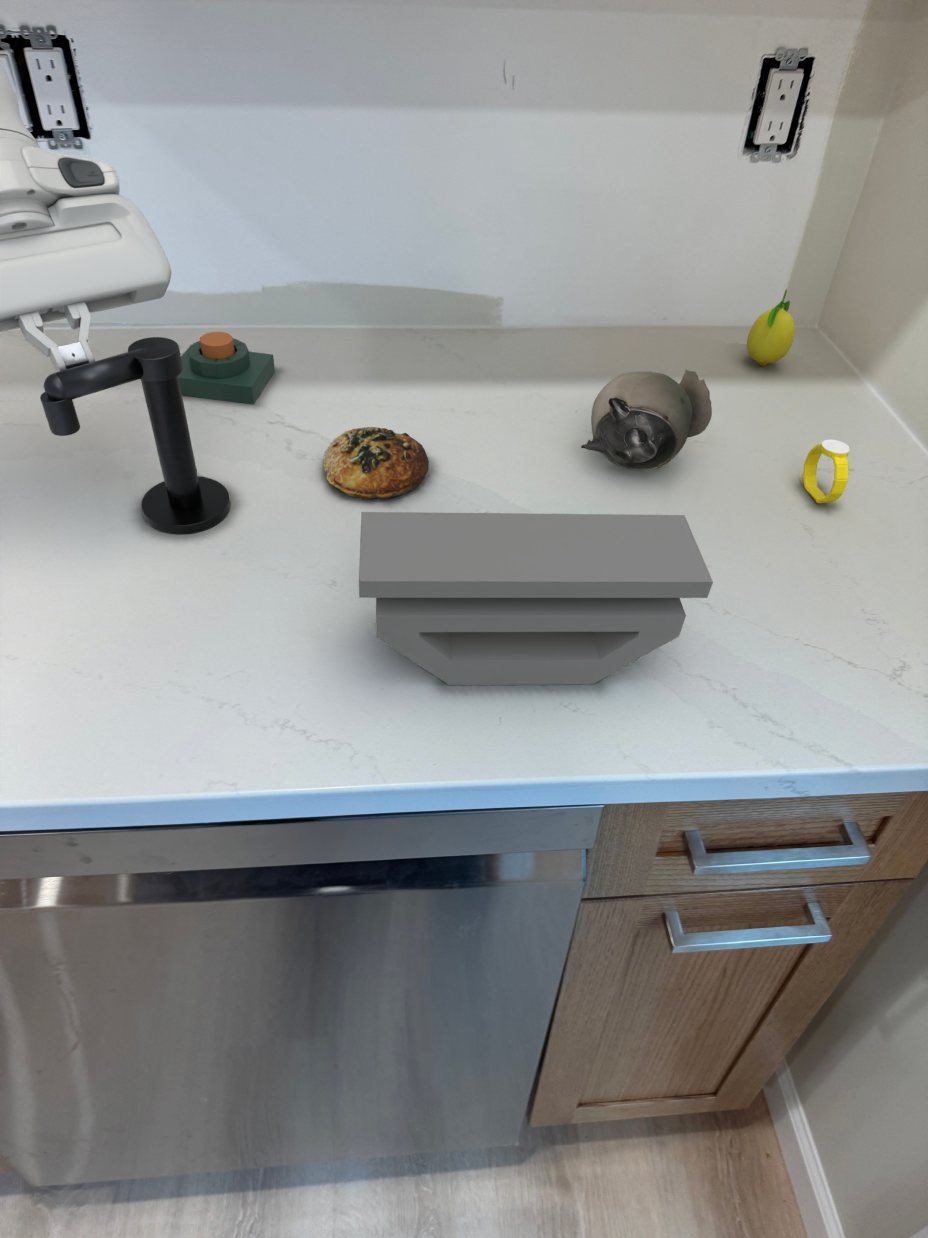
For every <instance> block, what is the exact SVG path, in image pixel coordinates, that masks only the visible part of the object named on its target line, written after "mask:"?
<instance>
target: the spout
mask: <svg viewBox="0 0 928 1238" xmlns="http://www.w3.org/2000/svg"><path fill="white" fill-rule="evenodd" d="M181 356H182V354H181V349H180V346H179V344H178V342H177V341H175V340H173V339H171V338H168V337H162V336H153V337H144V338H141V339H138V340H136V341H134V342H132V343H130V344H129V346H128V348H127V351H126V352H123V353H119V354H116V355H112V356H108V357H105V358H102V359H98V360H95V362H91V363H88V364H84V365H81V366H77V367H73V368H70V369H66V370H63V371H59V372H56V371H55V372H53V373H50V374H49V375H48V376H46V377H45V379H44V382H43V390H44V392H41V394H40V397H39V399H40V403H41V406H42V408H43V411H44V414H45V418H46V421H47V424H48V426H49V430H50V432H51V433H52V434H53V435H55V436H58V437H67V436H72V435H74V434H76V433H78V432H79V431H80V429H81V423H80V421H79V417H78V414H77V411H76V407H75V404H74V400H75V399H78V398H82V397H85V396H89V395H92V394H95V393H99V392H102V391H105V390H109V389H112V388H115V387H118V386H122V385H125V384H129V383H131V382H135V381H138V380H140V381H141V380H144V381H150V382H158V381H165V380H169V379H172V378H175V377H177V376H178V375H179V374H180V373H181V372H182V370H183V365H182V360H181Z"/></svg>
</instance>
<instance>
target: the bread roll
mask: <svg viewBox="0 0 928 1238" xmlns="http://www.w3.org/2000/svg"><path fill="white" fill-rule="evenodd" d="M429 461H430V460H429V457H428V454H427V453H426V449H425V448H424V447H423V444H421V442H419V441H417V440H416V439H415V438H413V437H411V436H410V434H408V433H406V432H403V433H396V432H395V431H394V430H392V429H388V428H385V427H374V426H367V427H366V426H365V427H358V428H352V429H348V430H347V431H346V430H345V431H344V432H343V433H341V434H339V435H338V436H337V437H335V438H334V439H333V440H332V442H331V443H330V444H329V446H328V447H327V449H326V451H325V454H324V458H323V461H322V463H323V469H324V472H325V473H326V480H327V481H328V483H329V484H331V485H332V486H333V487H335V488H337V489H338V490H339V491H341V492H342V493H343V494H344V495H346V496H348V497H353V498H358V499H362V500H364V499H367V500H368V499H375V498H377V499H378V498H379V499H386V498H389V499H391V498H395V497H398V496H401V495H403V494H407V493H409V492H411V491H412V490H414V489H415V488H416V487H418V486H419V485H420V484H421V483H422V481H423V480H424V479H425V477H426V475H427V474H428V471H429V465H430V463H429Z"/></svg>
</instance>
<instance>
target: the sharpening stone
mask: <svg viewBox="0 0 928 1238" xmlns="http://www.w3.org/2000/svg"><path fill="white" fill-rule="evenodd" d="M360 516H361V517H360V535H359V537H360V538H359V539H360V540H359V566H358V597H359V598H360V599H362V598H363V599H375V637H376V638H377V639H378V640H380V641H381V642H383V643H384V644H386V645H387V646H389V647H390V648H392V649H393V650H395V651H397V652H398V653H399V654H401V655H403V656H404V657H406V658H407V659H409V660H410V661H412V662H413V663H415V664H416V665H417V666H419V667H421V668H422V669H424V670H425V671H427V672H428V673H429V674H431V675H433V676H435V677H436V678H437V679H439V680H441V681H442V682H443V683H445V684H446V685H449V686H454V687H455V686H544V685H546V686H547V685H549V686H553V685H554V686H555V685H595V684H596V683H598V682H600V681H601V680H604V679H605V678H607V677H609V676H610V675H613V674H614V673H616V672H618V671H619V670H622V669H624V668H625V667H626V666H629V665H630V664H632V663H634V662H635V661H638V660H639V659H641V658H642V657H644V656H646V655H648V654H649V653H650V654H651V652H653V651H655V650H657V649H659V648H660V647H662V646H664V645H666V644H668V643H670V642H671V641H673V640H675V639H677V638H679V637H680V635H681V632H682V629H683V626H684V623H685V620H686V617H687V614H686V611H685V609H684V606H683V604H682V600H681V599H707V598H708V597H709V595H710V591H711V589H712V586H713V583H714V581H713V578H712V577H711V573H710V572H709V569H708V567H707V564H706V562H705V560H704V557H703V555H702V553H701V550H700V547H699V546H698V543H697V541H696V538H695V536H694V534H693V531H692V528H691V527H690V525H689V521H688V520H687V517H686V515H685V514H623V513H621V514H620V513H619V514H616V513H615V514H613V513H610V514H609V513H524V512H523V513H519V512H517V513H513V512H512V513H511V512H502V513H501V512H421V511H420V512H418V511H417V512H416V511H415V512H414V511H412V512H411V511H409V512H408V511H405V512H404V511H403V512H402V511H400V512H399V511H361V515H360Z"/></svg>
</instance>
